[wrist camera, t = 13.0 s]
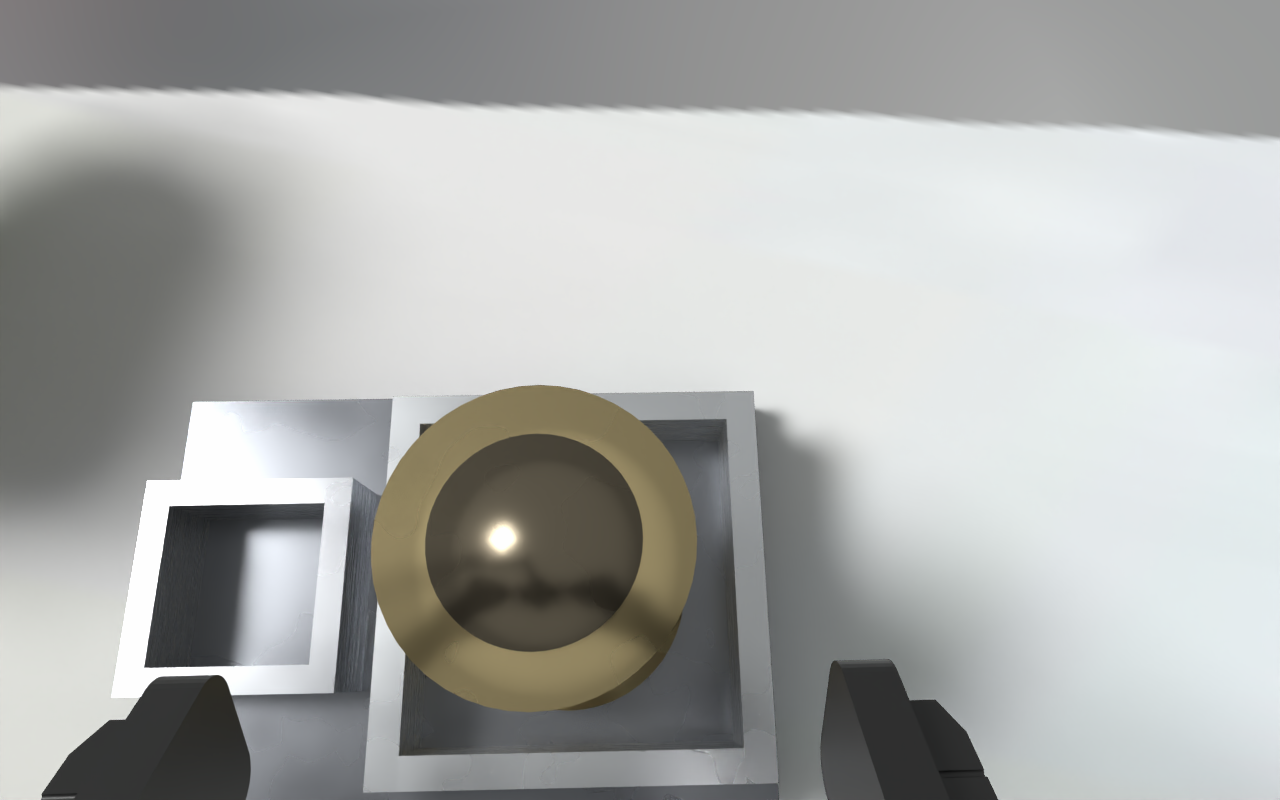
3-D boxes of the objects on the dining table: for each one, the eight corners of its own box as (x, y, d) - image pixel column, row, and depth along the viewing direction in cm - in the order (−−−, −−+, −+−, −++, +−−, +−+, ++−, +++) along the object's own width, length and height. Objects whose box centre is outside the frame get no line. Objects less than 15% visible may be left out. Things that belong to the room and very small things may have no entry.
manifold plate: (157, 807, 20) (75, 830, 17) (214, 414, 23) (152, 376, 20) (770, 793, 21) (794, 814, 18) (746, 407, 24) (763, 368, 21)
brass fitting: (459, 709, 20) (330, 738, 11) (470, 488, 22) (366, 366, 13) (684, 707, 20) (725, 733, 11) (678, 486, 22) (711, 365, 13)
